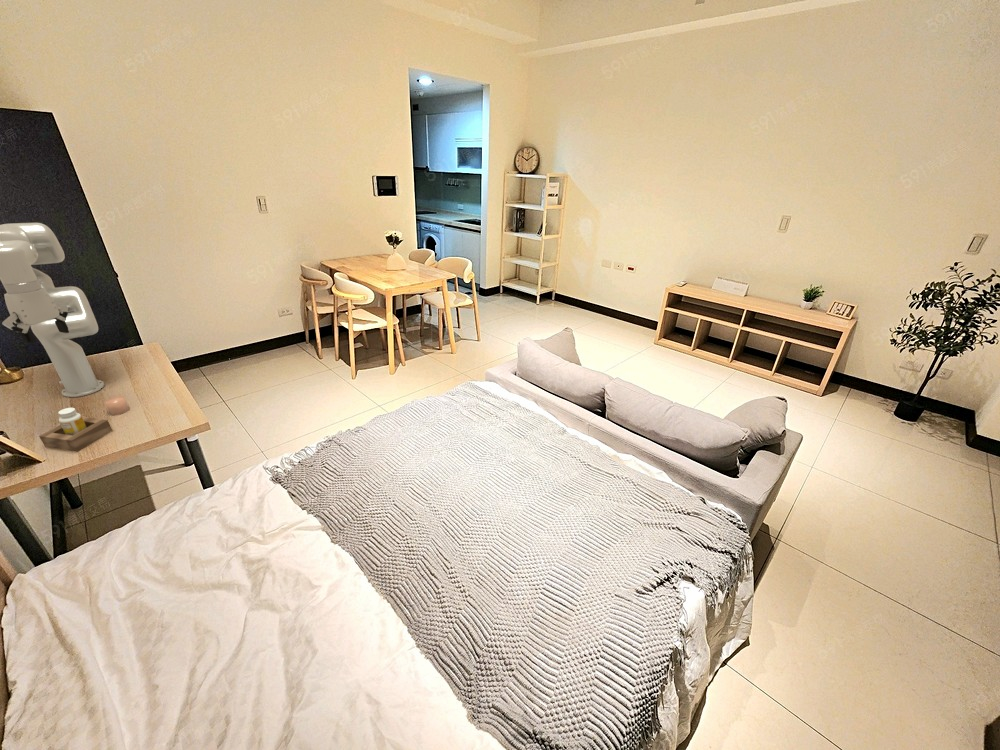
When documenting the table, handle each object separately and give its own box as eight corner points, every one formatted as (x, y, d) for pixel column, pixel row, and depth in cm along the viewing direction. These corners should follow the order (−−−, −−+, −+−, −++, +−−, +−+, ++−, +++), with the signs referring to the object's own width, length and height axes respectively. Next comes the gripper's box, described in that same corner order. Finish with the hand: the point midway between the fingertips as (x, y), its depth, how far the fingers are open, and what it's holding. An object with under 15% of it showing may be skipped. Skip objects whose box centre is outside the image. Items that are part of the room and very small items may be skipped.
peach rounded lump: (104, 414, 154) (99, 403, 151) (119, 405, 159) (114, 394, 157) (119, 416, 153) (114, 404, 151) (133, 407, 159) (129, 396, 156)
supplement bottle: (68, 441, 137) (56, 417, 132) (65, 434, 140) (53, 410, 135) (90, 434, 140) (78, 410, 136) (87, 428, 143) (75, 404, 139)
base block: (45, 448, 136) (38, 435, 134) (82, 427, 147) (76, 415, 144) (78, 452, 135) (71, 440, 133) (113, 431, 146) (107, 420, 143)
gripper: (44, 278, 135) (67, 327, 143) (-23, 293, 120) (6, 346, 128) (64, 281, 134) (85, 329, 142) (-2, 296, 119) (26, 349, 127)
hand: (48, 337), depth 135 cm, fingers open, 9 cm apart
